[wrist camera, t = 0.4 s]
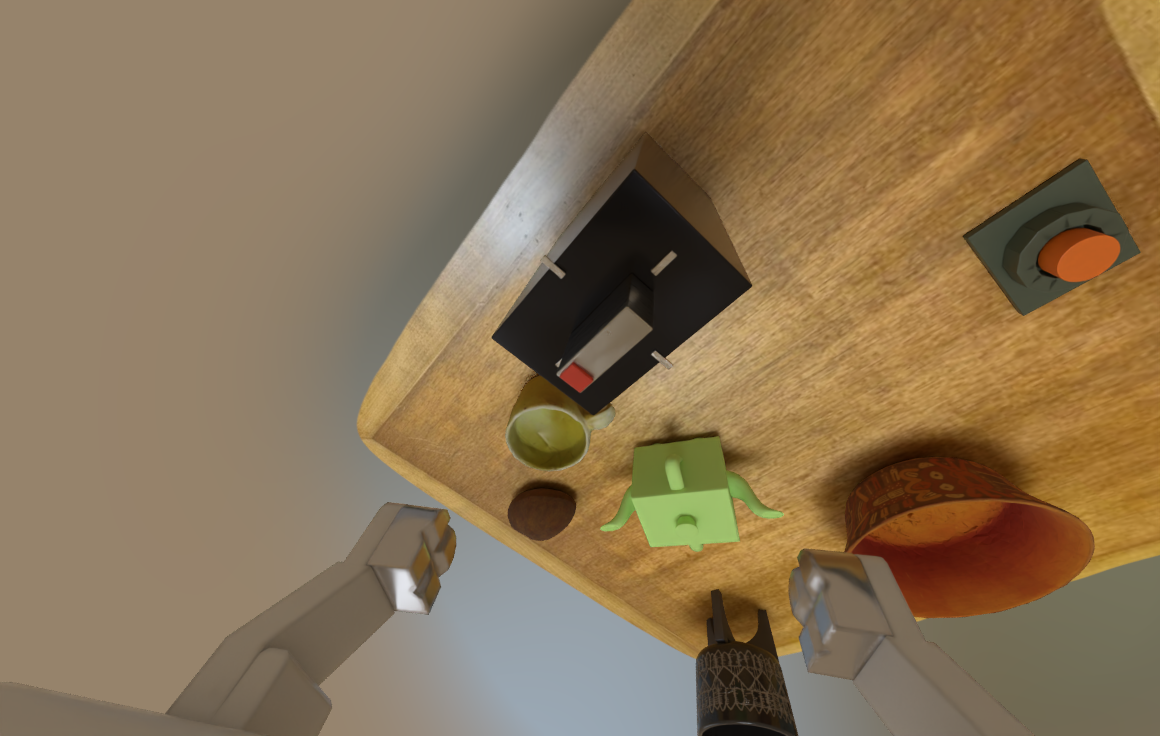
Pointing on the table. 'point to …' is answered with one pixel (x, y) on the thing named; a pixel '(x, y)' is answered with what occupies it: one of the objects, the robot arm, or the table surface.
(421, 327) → the table surface
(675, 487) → the teapot
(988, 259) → the housing
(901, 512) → the bowl
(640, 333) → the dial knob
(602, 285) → the black lever box
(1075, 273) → the button
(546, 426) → the mug
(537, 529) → the potato
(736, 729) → the planter
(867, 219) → the table surface
